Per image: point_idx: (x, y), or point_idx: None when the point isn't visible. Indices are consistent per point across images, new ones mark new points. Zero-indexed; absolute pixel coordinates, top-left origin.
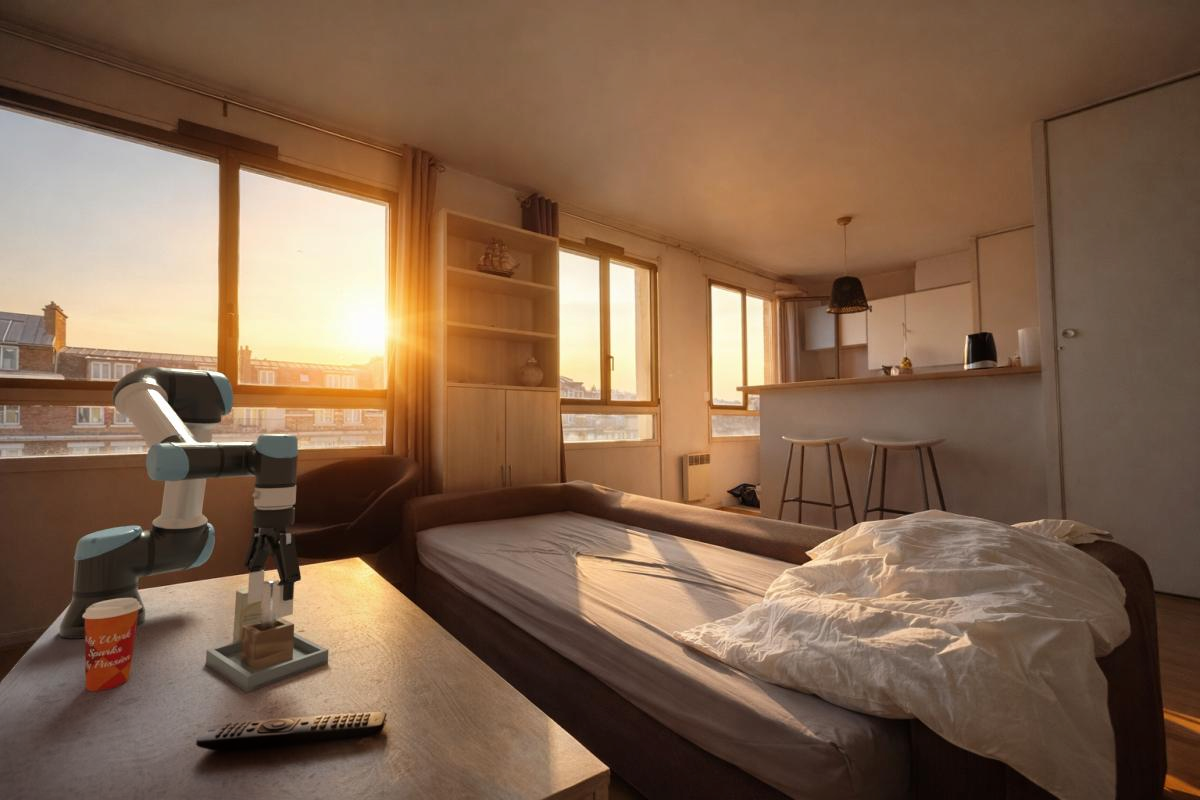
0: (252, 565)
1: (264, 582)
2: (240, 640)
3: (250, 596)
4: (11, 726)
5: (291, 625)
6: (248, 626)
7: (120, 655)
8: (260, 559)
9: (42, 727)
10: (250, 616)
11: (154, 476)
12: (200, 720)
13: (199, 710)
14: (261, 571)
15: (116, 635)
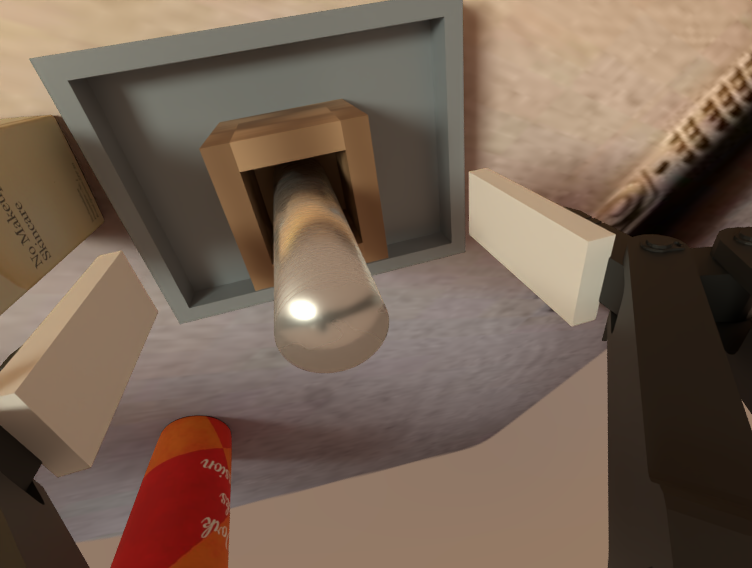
0: (70, 535)
1: (325, 362)
2: (136, 240)
3: (143, 332)
4: (301, 489)
5: (368, 127)
6: (268, 273)
7: (222, 482)
8: (69, 566)
9: (334, 463)
10: (25, 236)
11: None
12: (491, 308)
13: (452, 309)
14: (35, 408)
15: (224, 542)
